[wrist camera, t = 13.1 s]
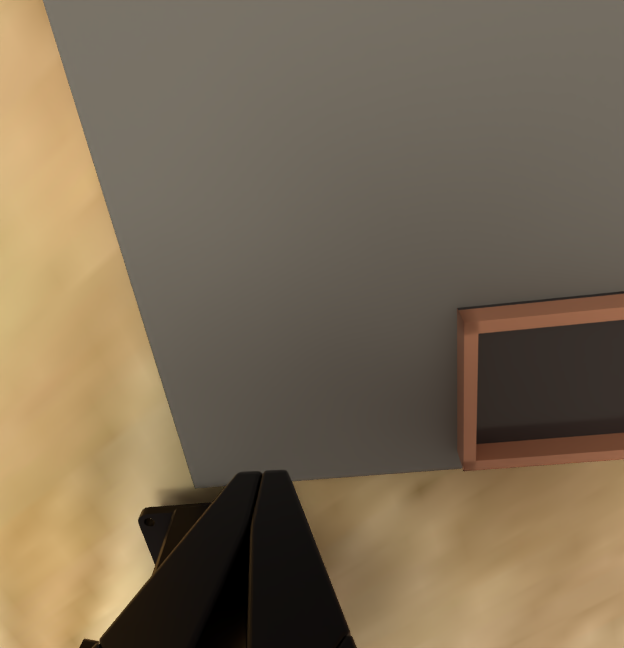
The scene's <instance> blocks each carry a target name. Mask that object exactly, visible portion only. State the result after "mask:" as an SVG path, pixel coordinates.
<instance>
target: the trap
mask: <svg viewBox="0 0 624 648" xmlns="http://www.w3.org/2000/svg"><path fill="white" fill-rule="evenodd" d="M457 452H458V455H459V458H460V462H461V465H462V468H463V471H471V470H485V469H498V468H512V467H525V466H539V465H552V464H565V463H579V462H592V461H606V460H619V459H624V291H620V292H610V293H601V294H591V295H581V296H571V297H561V298H551V299H541V300H531V301H521V302H511V303H501V304H491V305H481V306H471V307H461V308H457Z"/></svg>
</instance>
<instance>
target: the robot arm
mask: <svg viewBox="0 0 624 648" xmlns="http://www.w3.org/2000/svg"><path fill="white" fill-rule="evenodd" d="M150 518H151V519H150ZM138 523H139V525H140V528H141V531H142V533H143V536H144V538H145V541H146V543H147V546H148V548H149V551H150V553H151V556H152V558H153V561H154V564H155V568H154V571H153V574H152V576H151V577H150V579H149V580H148V581H147V582H146V583H145V585H144V586H143V587H142V588H141V589H140V591H139V592H138V593H137V594H136V595H135V597H134V598H133V599H132V600H131V602H130V603H129V604H128V605H127V606H126V608H125V609H124V610H123V611H122V612H121V614H120V615H119V616H118V617H117V618H116V620H115V621H114V622H113V623H112V624H111V626H110V627H109V628H108V629H107V631H106V632H105V633H104V634H103V635H102V637H101V638H100V644H99V641H95V640H90V639H84V640H83V642H82V644H81V646H80V647H79V648H357V647H356V645H355V642H354V639H353V637H352V636H351V635H350V630H349V627H348V625H347V622H346V620H345V617H344V614H343V612H342V609H341V607H340V604H339V602H338V599H337V596H336V594H335V591H334V589H333V586H332V584H331V581H330V578H329V576H328V573H327V571H326V568H325V566H324V563H323V560H322V558H321V555H320V553H319V550H318V548H317V545H316V542H315V540H314V537H313V535H312V532H311V530H310V527H309V524H308V522H307V519H306V517H305V514H304V512H303V509H302V506H301V504H300V501H299V499H298V496H297V494H296V491H295V488H294V486H293V483H292V481H291V478H290V476H289V473H288V471H287V470H284V469H282V470H266V471H264V472H263V474H262V472H260V471H243V472H238V473H237V474H236V475H235V476H234V477H233V478H232V480H231V481H230V482H229V483H228V484H227V486H226V487H225V488H224V489H223V490H222V492H221V493H220V494H219V495H218V496H217V498H216V499H215V500H214V501H213V502H212V503H200V504H186V505H173V506H159V507H148V508H145V509H143V510H142V512H141V514H140V517H139V519H138Z"/></svg>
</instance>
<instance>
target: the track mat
mask: <svg viewBox="0 0 624 648" xmlns="http://www.w3.org/2000/svg"><path fill="white" fill-rule="evenodd" d="M43 2H44V6H45V9H46V12H47V15H48V18H49V22H50V25H51V28H52V31H53V34H54V38H55V41H56V44H57V47H58V51H59V54H60V57H61V60H62V63H63V67H64V70H65V73H66V76H67V79H68V83H69V86H70V89H71V92H72V95H73V99H74V102H75V105H76V108H77V112H78V115H79V118H80V121H81V124H82V128H83V131H84V134H85V137H86V140H87V144H88V147H89V150H90V153H91V156H92V160H93V163H94V166H95V169H96V173H97V176H98V179H99V182H100V185H101V189H102V192H103V195H104V198H105V201H106V205H107V208H108V211H109V214H110V218H111V221H112V224H113V227H114V230H115V234H116V237H117V240H118V243H119V246H120V250H121V253H122V256H123V259H124V262H125V266H126V269H127V272H128V275H129V279H130V282H131V285H132V288H133V291H134V295H135V298H136V301H137V304H138V307H139V311H140V314H141V317H142V320H143V323H144V327H145V330H146V333H147V336H148V340H149V343H150V346H151V349H152V352H153V356H154V359H155V362H156V365H157V368H158V372H159V375H160V378H161V381H162V384H163V388H164V391H165V394H166V397H167V401H168V404H169V407H170V410H171V413H172V417H173V420H174V423H175V426H176V429H177V433H178V436H179V439H180V442H181V446H182V449H183V452H184V455H185V458H186V462H187V465H188V468H189V471H190V474H191V478H192V481H193V484H194V487H195V488H207V487H221V486H227V484H228V483H229V482H230V481H231V480H232V478H233V477H234V476H235V475H236V474H237V473H238V472H243V471H260V472H262V474H263V472H264V471H266V470H282V469H284V470H287V471H288V473H289V476H290V478H291V481H301V480H314V479H328V478H341V477H354V476H368V475H381V474H394V473H408V472H421V471H434V470H448V469H461V468H462V465H461V462H460V458H459V455H458V452H457V308H461V307H471V306H481V305H491V304H501V303H511V302H521V301H531V300H541V299H551V298H561V297H571V296H581V295H591V294H601V293H610V292H620V291H624V0H43Z"/></svg>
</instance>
